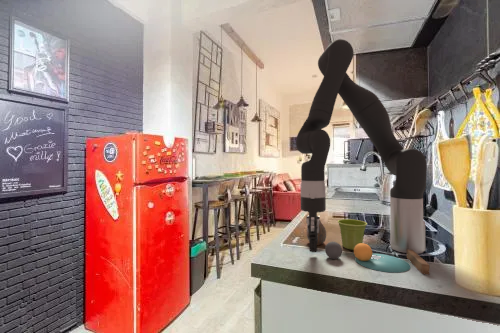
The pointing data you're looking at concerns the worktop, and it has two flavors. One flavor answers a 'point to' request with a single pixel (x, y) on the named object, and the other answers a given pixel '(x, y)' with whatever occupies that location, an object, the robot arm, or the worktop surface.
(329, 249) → the gray ball
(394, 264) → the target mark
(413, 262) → the rail
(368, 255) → the orange ball
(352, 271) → the worktop surface
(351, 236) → the plant pot
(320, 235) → the brown oval solid
